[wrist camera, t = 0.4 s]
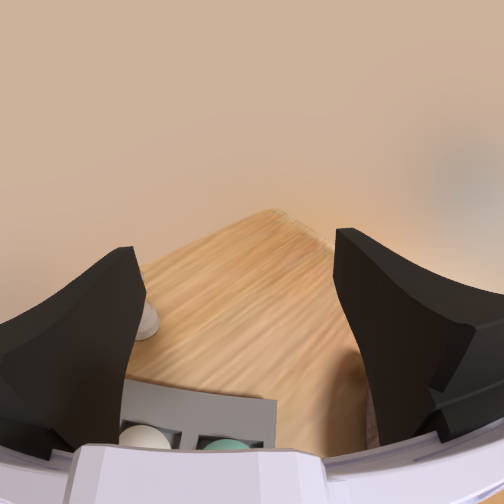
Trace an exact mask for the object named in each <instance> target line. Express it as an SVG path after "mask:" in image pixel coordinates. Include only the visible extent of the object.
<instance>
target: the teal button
mask: <svg viewBox="0 0 504 504" xmlns="http://www.w3.org/2000/svg"><path fill="white" fill-rule="evenodd" d="M230 449H250V448H249V447H248V446H247V445H245V444H244V443H242V442H239V441H236V440H232V439H222V440H217V441H215V442H212V443H210V444H209V445H207V446H206V447H205V448H204V449H203V450H230Z"/></svg>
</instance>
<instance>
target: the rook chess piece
mask: <svg viewBox="0 0 504 504" xmlns="http://www.w3.org/2000/svg"><path fill="white" fill-rule="evenodd" d="M140 273H141V276H142V279H143V280H144V275H143V273H142V272H141V271H140ZM159 325H160V319H159V316H158V314H157V310H156V309H155V308H154V307H153V306H152V305H151V304H150V303H149V302H148V301H147V300H146V298H145V304H144V310H143V315H142V318H141V322H140V325H139V328H138V332H137V335H136V338H135V340H144V339H148V338H149V337H151V336H152V335H154V334H155V333H156V331H157V330H158V328H159Z"/></svg>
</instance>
